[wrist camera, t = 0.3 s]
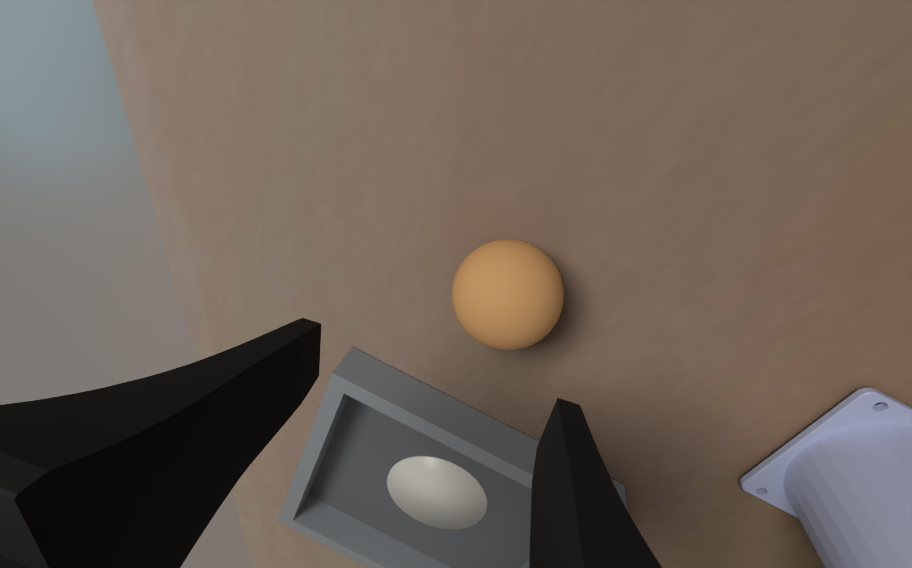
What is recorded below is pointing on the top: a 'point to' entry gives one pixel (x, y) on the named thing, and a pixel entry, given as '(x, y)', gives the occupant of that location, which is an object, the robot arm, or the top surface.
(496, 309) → the ball
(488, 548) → the grey serving tray
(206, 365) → the robot arm
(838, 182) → the top surface
